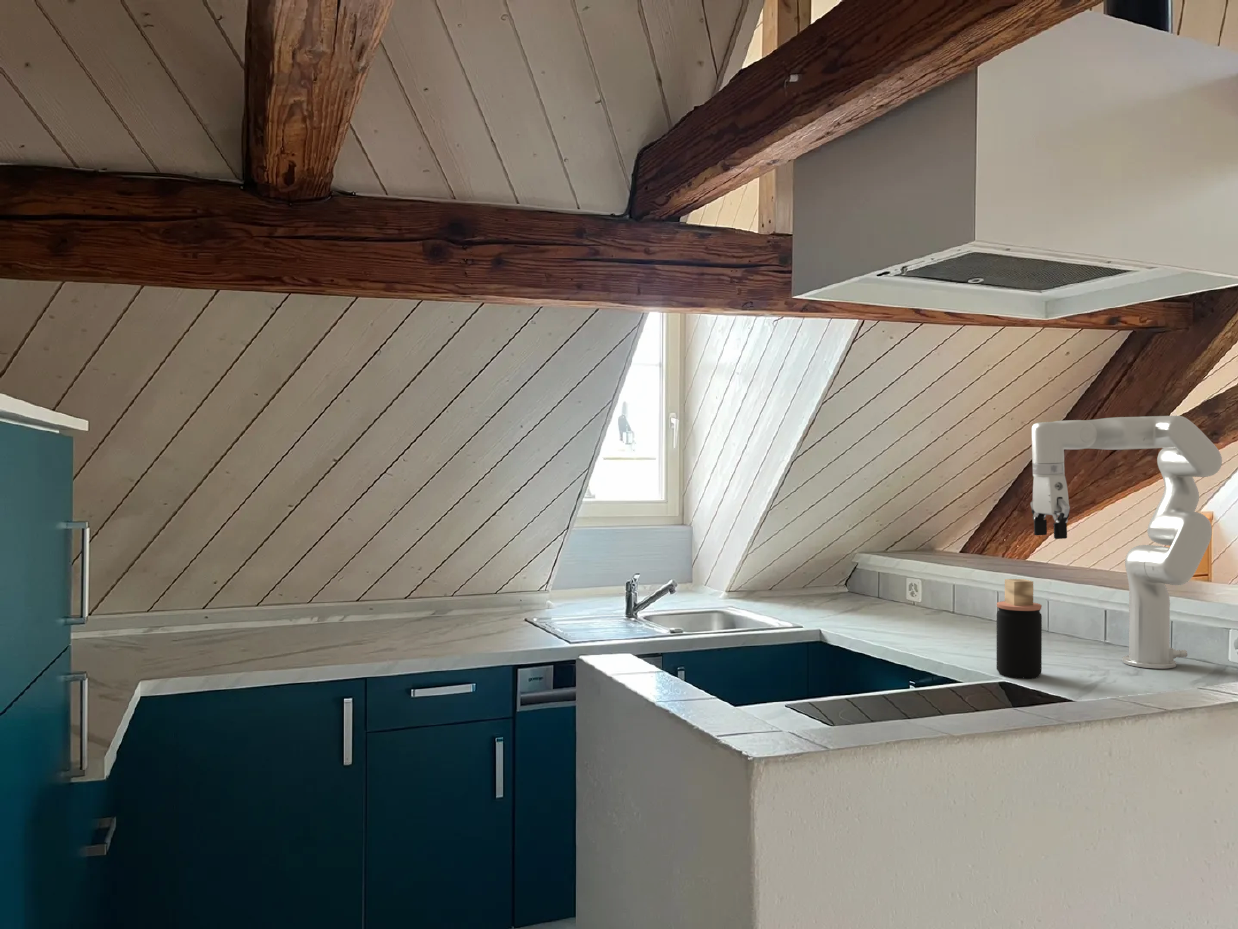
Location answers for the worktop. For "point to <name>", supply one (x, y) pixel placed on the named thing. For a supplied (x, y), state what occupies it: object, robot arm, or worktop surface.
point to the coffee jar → (1019, 640)
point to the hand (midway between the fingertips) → (1050, 536)
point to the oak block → (1018, 592)
